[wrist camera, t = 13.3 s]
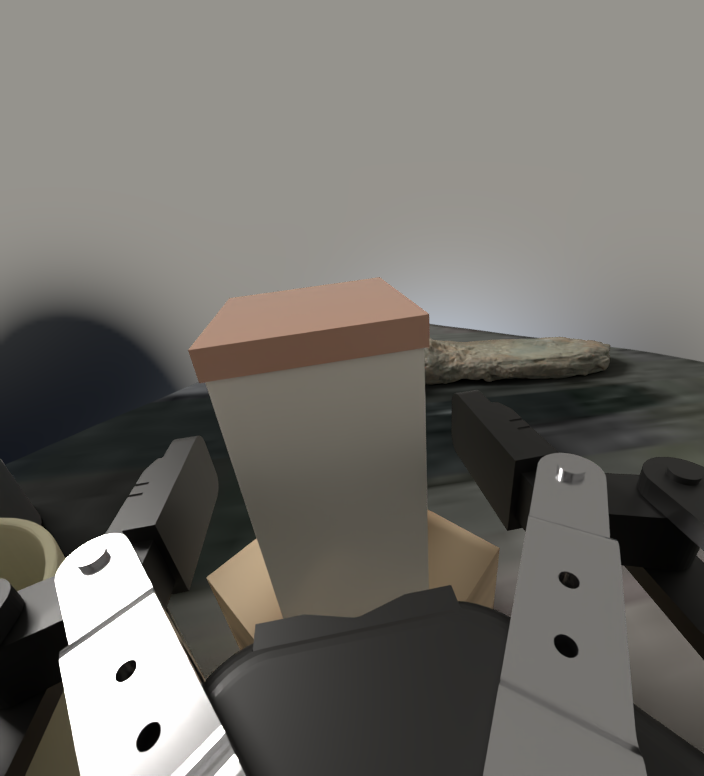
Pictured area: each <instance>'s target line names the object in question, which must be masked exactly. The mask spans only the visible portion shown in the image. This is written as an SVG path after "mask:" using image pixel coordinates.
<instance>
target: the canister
mask: <svg viewBox="0 0 704 776" xmlns="http://www.w3.org/2000/svg"><path fill="white" fill-rule="evenodd" d="M427 347H430V340H429V314H428V313H427V312H426V311H424V310H423V309H422V308H420V307H419V306H418V305H416V304H415V303H413V302H412V301H411V300H409V299H408V298H407V297H405V296H404V295H402V294H401V293H400V292H399V291H397V290H396V289H395V288H393V287H392V286H390V285H389V284H388V283H387V282H385V281H384V280H382V279H381V278H380V277H378V278H371V279H364V280H357V281H349V282H343V283H336V284H328V285H321V286H314V287H306V288H299V289H293V290H285V291H278V292H271V293H264V294H256V295H249V296H242V297H235V298H229V299H228V301H227V302H226V303H225V304H224V306H223V307H222V308H221V310H220V311H219V312H218V313H217V315H216V316H215V317H214V319H213V320H212V321H211V322H210V323H209V325H208V326H207V327H206V328H205V330H204V331H203V332H202V334H201V335H200V336H199V337H198V338H197V340H196V341H195V342H194V344H193V345H192V346H191V347H190V349H189V350H188V351H189V354H190V357H191V360H192V363H193V366H194V369H195V372H196V375H197V378H198V381H199V383H203V382H205V383H206V386H207V389H208V392H209V395H210V398H211V401H212V404H213V407H214V410H215V413H216V416H217V419H218V422H219V425H220V428H221V431H222V434H223V437H224V440H225V443H226V447H227V450H228V453H229V456H230V459H231V462H232V465H233V468H234V471H235V474H236V477H237V480H238V483H239V486H240V489H241V492H242V495H243V498H244V501H245V504H246V507H247V510H248V513H249V516H250V519H251V522H252V525H253V528H254V531H255V535H256V538H257V541H258V544H259V547H260V550H261V553H262V556H263V559H264V562H265V565H266V568H267V571H268V574H269V577H270V580H271V583H272V586H273V589H274V592H275V595H276V598H277V601H278V604H279V607H280V610H281V613H282V616H283V619H284V618H289V617H294V616H299V615H304V614H307V615H322V616H337V617H351V618H352V617H359V616H362V615H364V614H366V613H368V612H370V611H372V610H374V609H376V608H378V607H380V606H382V605H384V604H386V603H388V602H390V601H392V600H394V599H396V598H398V597H400V596H402V595H404V594H408V593H413V592H418V591H423V590H428V589H429V572H428V520H427V468H426V415H425V363H424V348H427Z"/></svg>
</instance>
